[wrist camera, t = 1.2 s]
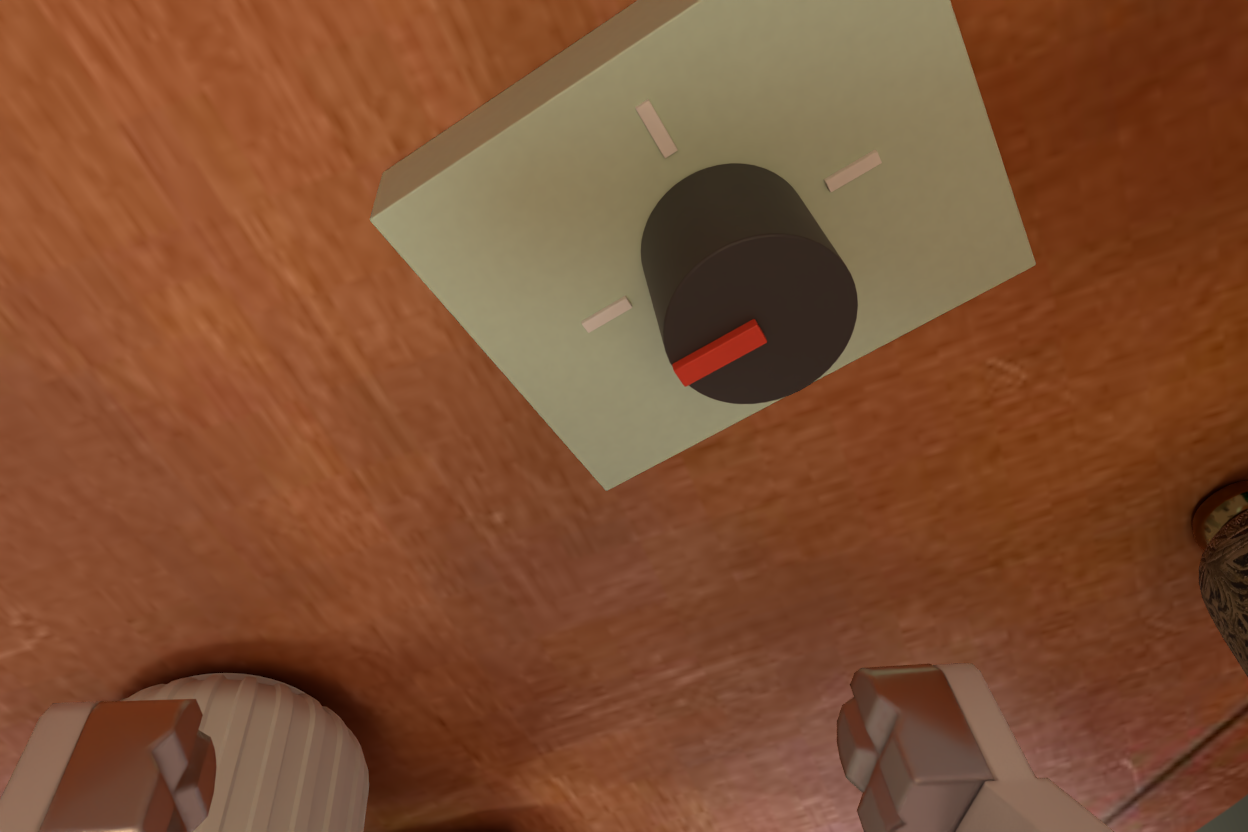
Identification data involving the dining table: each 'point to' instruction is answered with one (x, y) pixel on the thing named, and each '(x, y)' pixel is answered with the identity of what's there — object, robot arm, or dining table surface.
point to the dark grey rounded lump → (1226, 564)
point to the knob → (745, 285)
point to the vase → (274, 756)
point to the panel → (677, 147)
